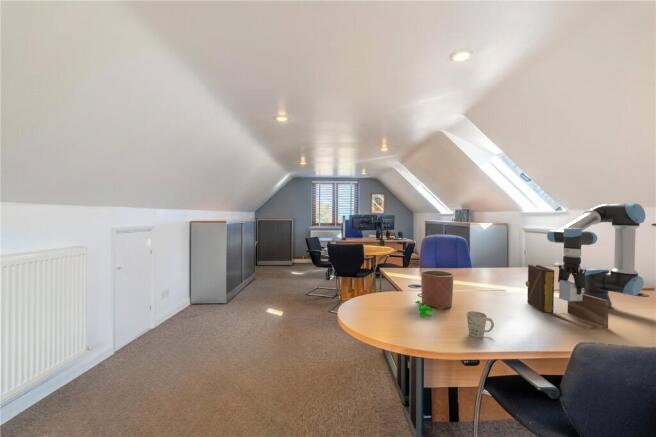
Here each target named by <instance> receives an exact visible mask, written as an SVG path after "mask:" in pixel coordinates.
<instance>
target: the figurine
mask: <svg viewBox="0 0 656 437" xmlns="http://www.w3.org/2000/svg"><path fill="white" fill-rule="evenodd" d="M414 303H415V304H418V312H419V315H420V318H425V317H433V316H434V314H435V313H436V312H435V311H434V310H433V309H432V307H431V306H428V305H426V304H423V306H422V301H421V299H420V300H417V301H415V302H414ZM427 312H430V313H429V314H428V313H427ZM431 313H433V314H431Z"/></svg>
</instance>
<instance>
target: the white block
mask: <svg viewBox="0 0 656 437" xmlns="http://www.w3.org/2000/svg"><path fill="white" fill-rule="evenodd" d="M558 283H559V285H558V287H559V288H558V299H560V300H563V301H566V302H568V301H569V302H576V301H582V300H583V292H584V288H582V289H581V294H580V300H574V288H575V287H576V285H575V281H574V279H573V280H569V279H568V280H561V281H560V282H558Z"/></svg>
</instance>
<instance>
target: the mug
mask: <svg viewBox="0 0 656 437" xmlns="http://www.w3.org/2000/svg"><path fill="white" fill-rule="evenodd" d="M466 318H467V320H466V321H467V326H468V327H467V328H468V334H469V336H471V337H473V338H476V339H482V338H484V337H485V333H490V332H491V331H493V329H494V327H495V323H494V320H493V319H492V318H491V317H488V315H487V314H485V313H483V312H480V311H473V310H472V311H466ZM487 321H489V322H490V328H488V329H487V330H485V329H486V323H487Z"/></svg>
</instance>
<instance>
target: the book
mask: <svg viewBox="0 0 656 437" xmlns="http://www.w3.org/2000/svg"><path fill="white" fill-rule="evenodd" d="M525 286H526V287H527V298H526V299H527V300H526V302H527V305H528V304H529V305H530V306H531V307H532V308H535V309H536V310H538V311H539V312H542V313H545V314H552V313H554V308H555V307H554V305H555V304H554V302H555V300H554V298H555V269H552V268H549V267H546V266H543V265H541V264H540V265H539V264H536V265H533V264H528V265H527V280H526V281H525Z"/></svg>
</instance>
